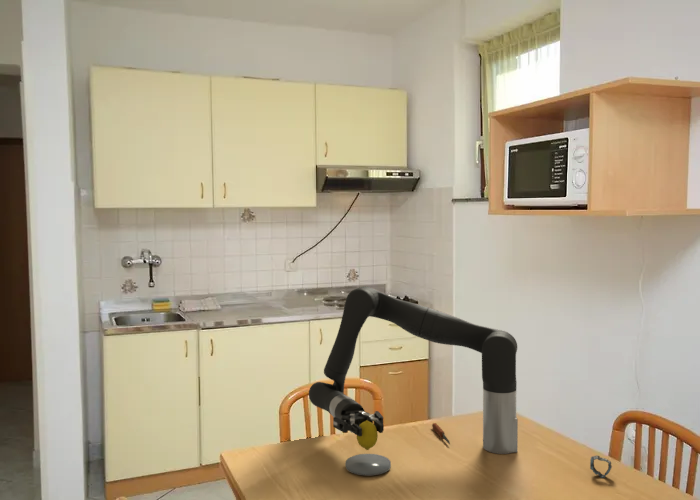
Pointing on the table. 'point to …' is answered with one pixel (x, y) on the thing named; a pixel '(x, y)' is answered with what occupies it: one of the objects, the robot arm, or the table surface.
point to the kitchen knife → (439, 431)
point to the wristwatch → (597, 457)
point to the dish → (368, 464)
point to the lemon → (367, 435)
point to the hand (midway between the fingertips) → (371, 430)
